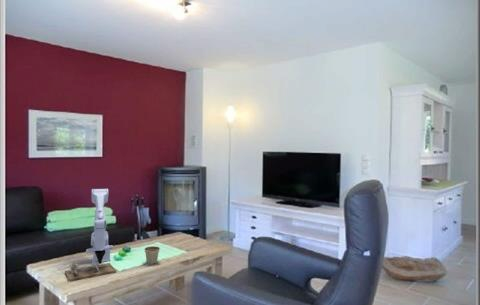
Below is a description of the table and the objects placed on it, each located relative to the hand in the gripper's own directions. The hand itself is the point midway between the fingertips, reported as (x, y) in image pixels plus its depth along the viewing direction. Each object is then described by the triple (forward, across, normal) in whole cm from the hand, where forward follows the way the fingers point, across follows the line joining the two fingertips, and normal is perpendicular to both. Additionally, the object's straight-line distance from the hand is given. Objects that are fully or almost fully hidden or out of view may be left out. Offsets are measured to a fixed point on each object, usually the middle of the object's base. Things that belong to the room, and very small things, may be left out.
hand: (99, 263), depth 202 cm
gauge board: (+3, -6, -3) cm, 7 cm away
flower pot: (+4, +29, -5) cm, 30 cm away
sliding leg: (+2, -3, -2) cm, 4 cm away
